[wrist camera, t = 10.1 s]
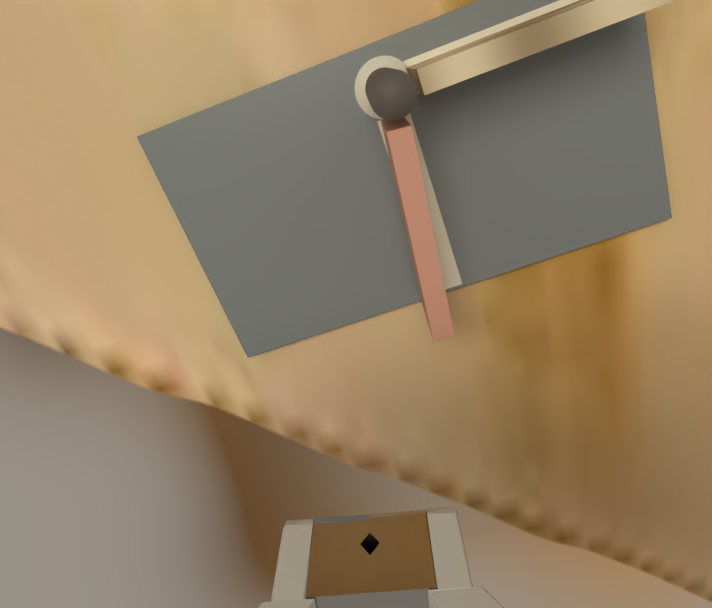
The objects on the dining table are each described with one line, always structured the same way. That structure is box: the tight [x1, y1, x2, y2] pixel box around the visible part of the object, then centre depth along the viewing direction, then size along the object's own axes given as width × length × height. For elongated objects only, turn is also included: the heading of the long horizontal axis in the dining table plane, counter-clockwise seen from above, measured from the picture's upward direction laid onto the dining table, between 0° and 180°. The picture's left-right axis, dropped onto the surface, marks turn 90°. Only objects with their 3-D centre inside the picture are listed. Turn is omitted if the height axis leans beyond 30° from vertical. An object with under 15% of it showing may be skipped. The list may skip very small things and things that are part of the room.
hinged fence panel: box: [381, 118, 455, 341], centre depth 26 cm, size 10×1×5 cm, turn 14°
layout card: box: [137, 0, 672, 357], centre depth 28 cm, size 24×13×1 cm, turn 110°
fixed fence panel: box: [365, 0, 675, 121], centre depth 23 cm, size 12×2×6 cm, turn 110°
